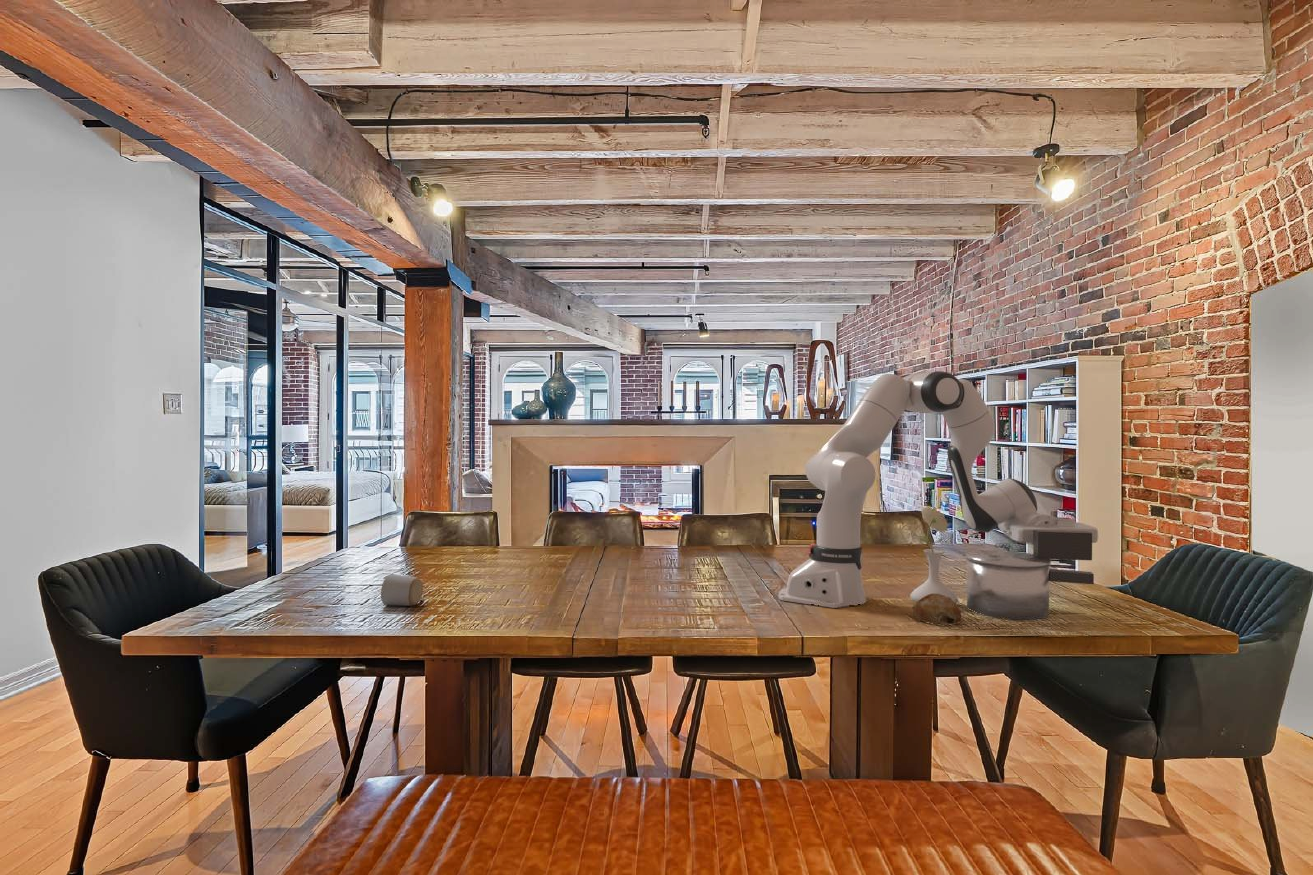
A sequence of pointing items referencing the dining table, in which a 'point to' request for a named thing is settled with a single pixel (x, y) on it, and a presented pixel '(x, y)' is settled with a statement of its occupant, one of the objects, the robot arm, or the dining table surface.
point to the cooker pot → (1015, 590)
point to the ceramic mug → (401, 590)
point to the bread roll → (937, 610)
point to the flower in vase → (933, 558)
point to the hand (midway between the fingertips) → (1071, 538)
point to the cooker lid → (1040, 550)
